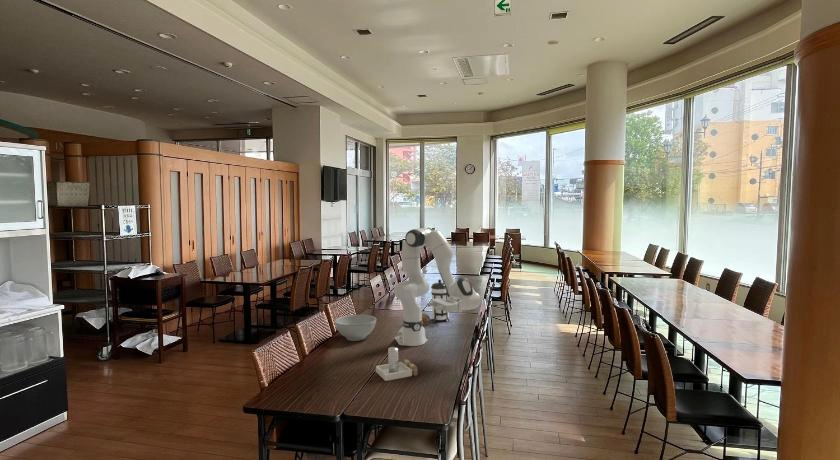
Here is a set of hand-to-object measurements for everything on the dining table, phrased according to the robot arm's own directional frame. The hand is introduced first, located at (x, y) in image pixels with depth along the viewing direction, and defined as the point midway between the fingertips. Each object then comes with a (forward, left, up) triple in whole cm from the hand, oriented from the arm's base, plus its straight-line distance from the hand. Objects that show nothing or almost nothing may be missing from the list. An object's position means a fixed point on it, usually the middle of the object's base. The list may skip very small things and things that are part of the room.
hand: (430, 306), depth 248 cm
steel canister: (+7, -25, -29) cm, 39 cm away
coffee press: (-76, +45, -30) cm, 93 cm away
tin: (-71, +25, -30) cm, 81 cm away
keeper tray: (+7, -25, -30) cm, 40 cm away
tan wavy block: (+7, -16, -30) cm, 35 cm away
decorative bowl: (-64, -23, -30) cm, 74 cm away
